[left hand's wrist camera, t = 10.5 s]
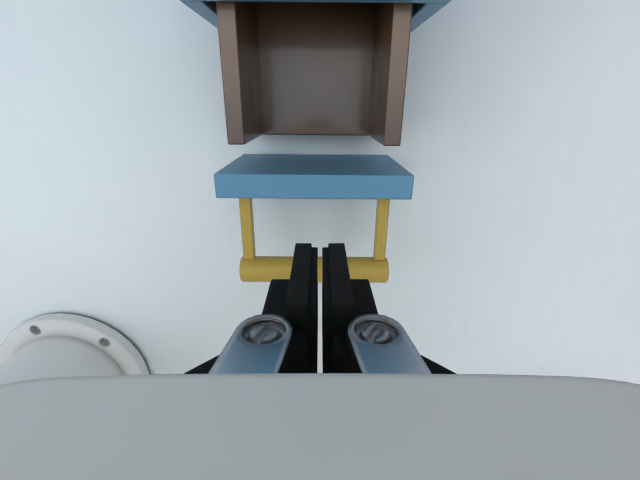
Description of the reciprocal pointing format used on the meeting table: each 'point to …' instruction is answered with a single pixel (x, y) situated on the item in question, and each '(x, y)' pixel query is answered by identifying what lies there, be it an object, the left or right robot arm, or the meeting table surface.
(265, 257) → the drawer
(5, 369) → the left robot arm
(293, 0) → the cabinet
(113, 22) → the meeting table surface
